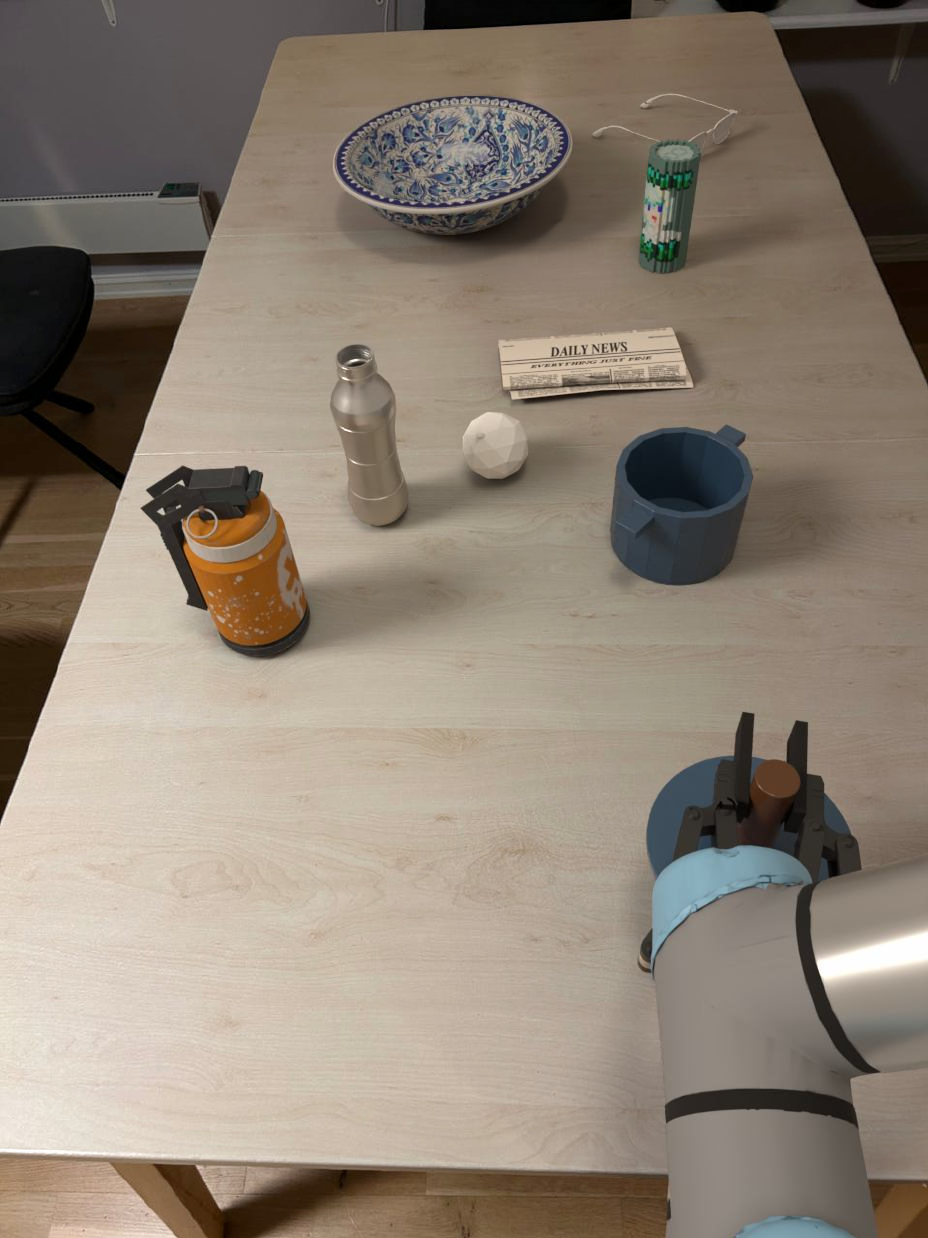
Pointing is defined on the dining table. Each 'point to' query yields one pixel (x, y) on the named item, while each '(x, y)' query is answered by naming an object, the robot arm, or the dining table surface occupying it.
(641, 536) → the pot
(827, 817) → the lid
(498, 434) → the ornament
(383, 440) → the metal water bottle
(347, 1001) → the dining table surface
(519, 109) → the ceramic bowl
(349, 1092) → the dining table surface
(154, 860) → the dining table surface
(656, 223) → the can
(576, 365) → the newspaper
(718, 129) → the eyeglasses
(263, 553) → the canister
